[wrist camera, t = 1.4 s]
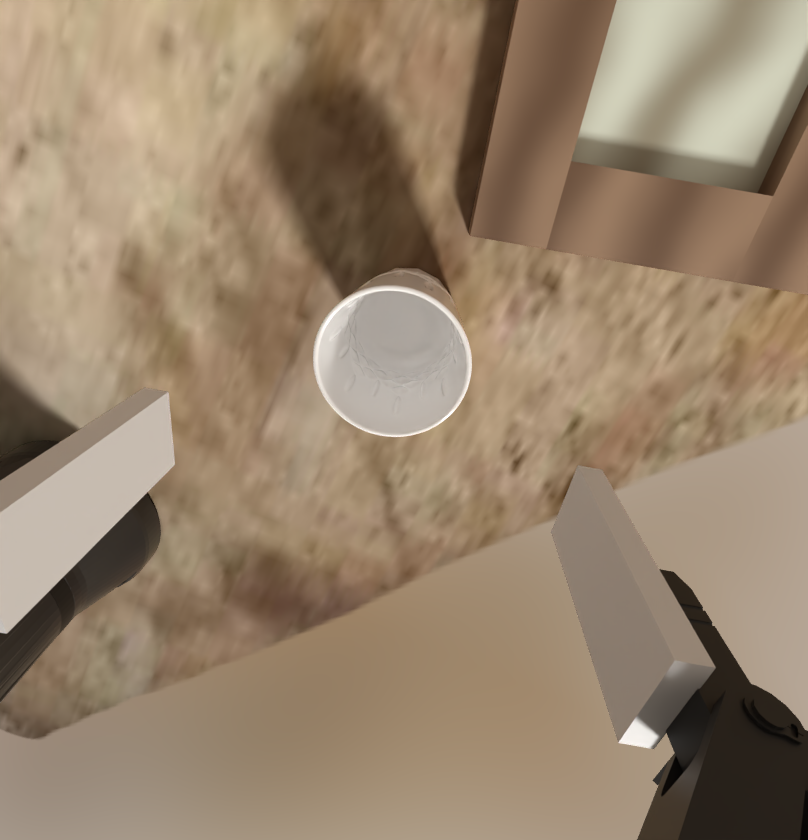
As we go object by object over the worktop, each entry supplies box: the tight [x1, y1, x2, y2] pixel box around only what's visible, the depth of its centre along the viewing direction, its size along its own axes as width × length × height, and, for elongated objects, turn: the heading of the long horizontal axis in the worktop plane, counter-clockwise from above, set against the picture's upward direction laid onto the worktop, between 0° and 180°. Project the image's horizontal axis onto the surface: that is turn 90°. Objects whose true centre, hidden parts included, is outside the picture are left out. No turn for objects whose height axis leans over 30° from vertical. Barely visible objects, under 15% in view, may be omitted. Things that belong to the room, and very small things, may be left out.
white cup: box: [313, 268, 472, 437], centre depth 27 cm, size 8×8×10 cm
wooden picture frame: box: [468, 0, 808, 295], centre depth 23 cm, size 20×20×2 cm
